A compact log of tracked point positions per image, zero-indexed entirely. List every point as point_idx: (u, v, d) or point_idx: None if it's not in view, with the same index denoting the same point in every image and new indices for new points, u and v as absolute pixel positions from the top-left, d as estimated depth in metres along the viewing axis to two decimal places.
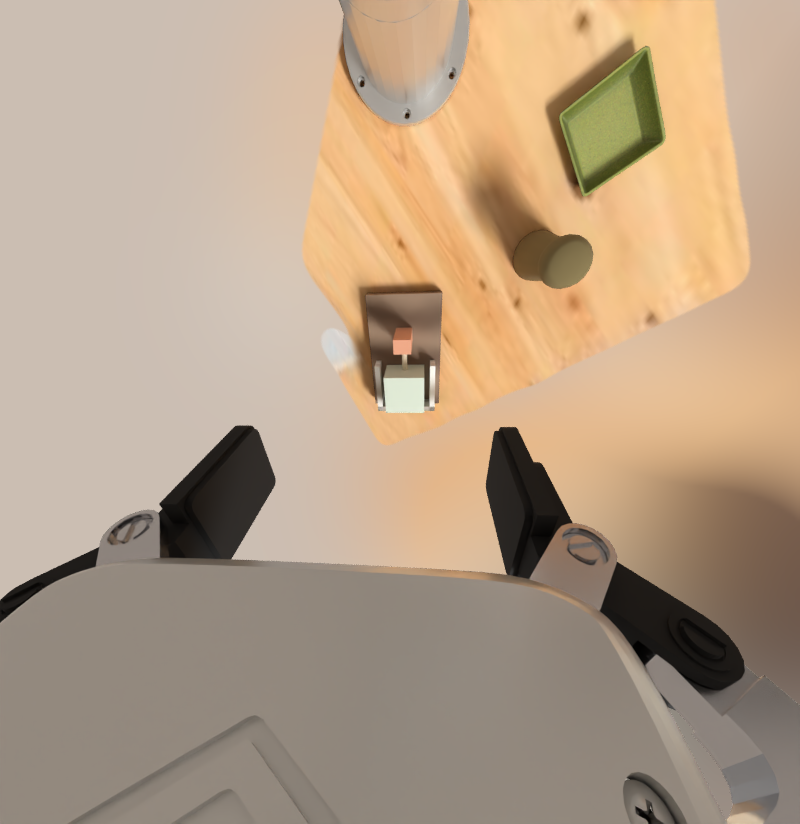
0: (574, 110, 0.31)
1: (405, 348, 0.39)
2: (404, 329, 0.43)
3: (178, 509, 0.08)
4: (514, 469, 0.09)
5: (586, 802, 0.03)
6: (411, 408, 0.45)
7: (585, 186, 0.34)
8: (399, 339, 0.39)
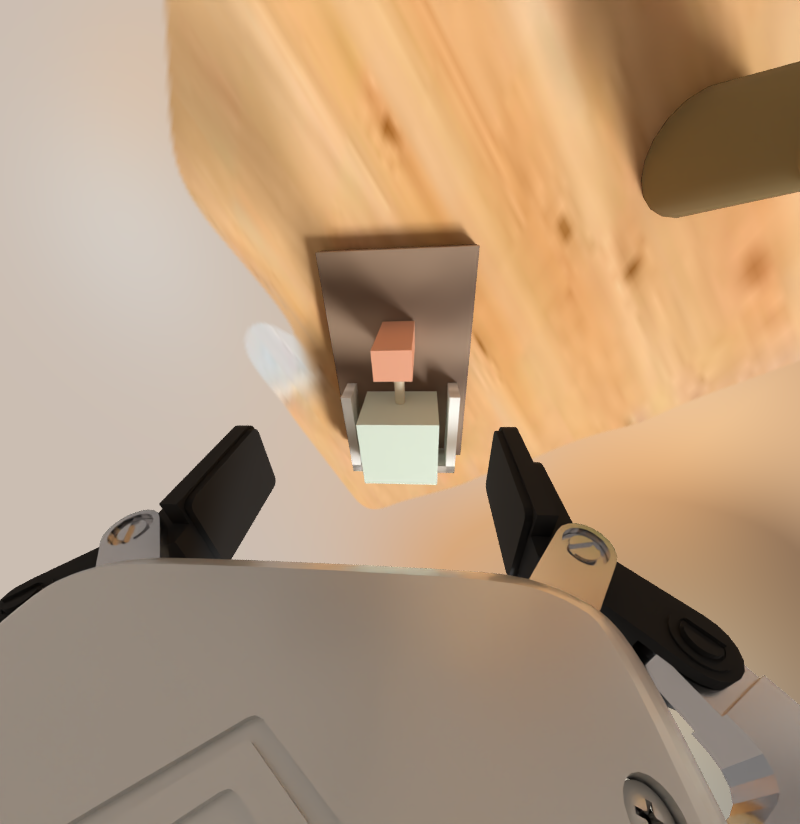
0: None
1: (400, 368, 0.17)
2: (399, 324, 0.21)
3: (178, 509, 0.08)
4: (514, 469, 0.09)
5: (586, 802, 0.03)
6: (412, 477, 0.24)
7: None
8: (384, 349, 0.17)
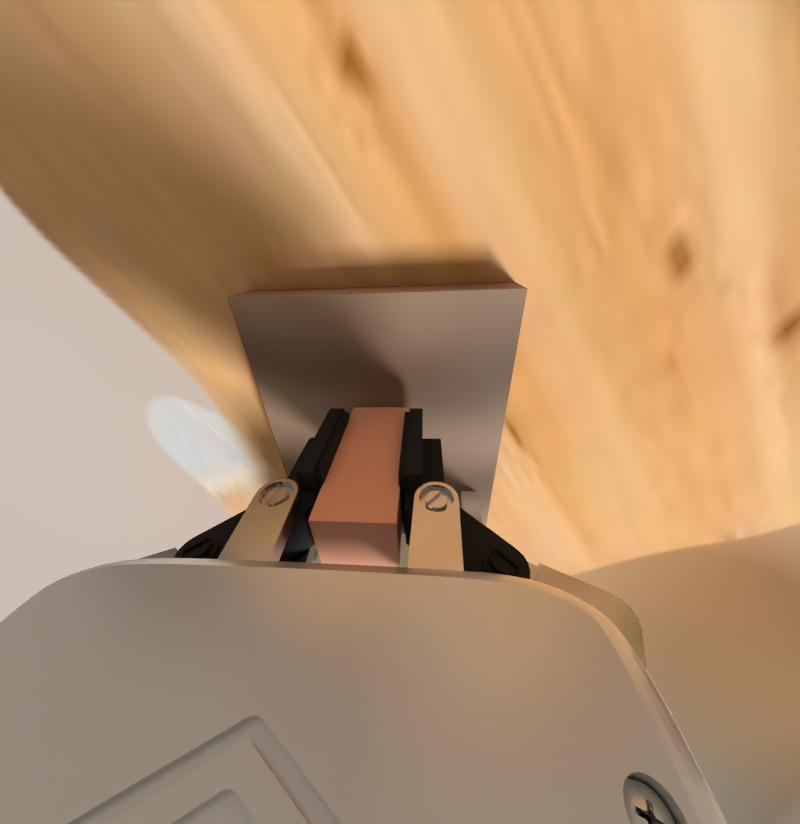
0: None
1: (373, 548, 0.08)
2: (380, 418, 0.12)
3: (312, 477, 0.09)
4: (405, 441, 0.10)
5: (586, 803, 0.03)
6: None
7: None
8: (339, 514, 0.08)
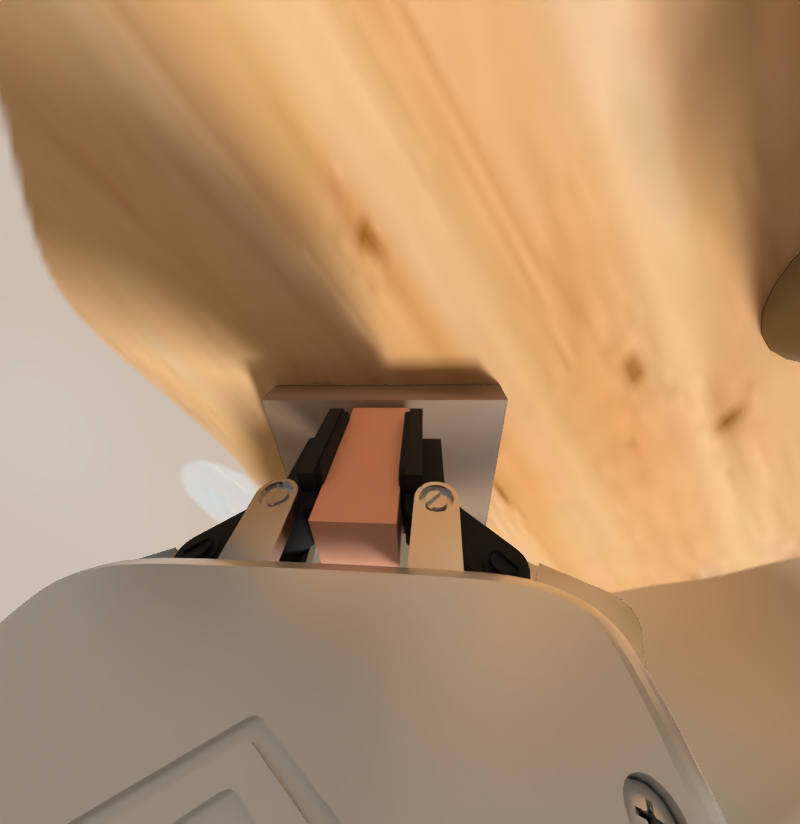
0: None
1: (373, 548, 0.08)
2: (380, 418, 0.12)
3: (312, 477, 0.09)
4: (405, 441, 0.10)
5: (586, 802, 0.03)
6: None
7: None
8: (339, 514, 0.08)
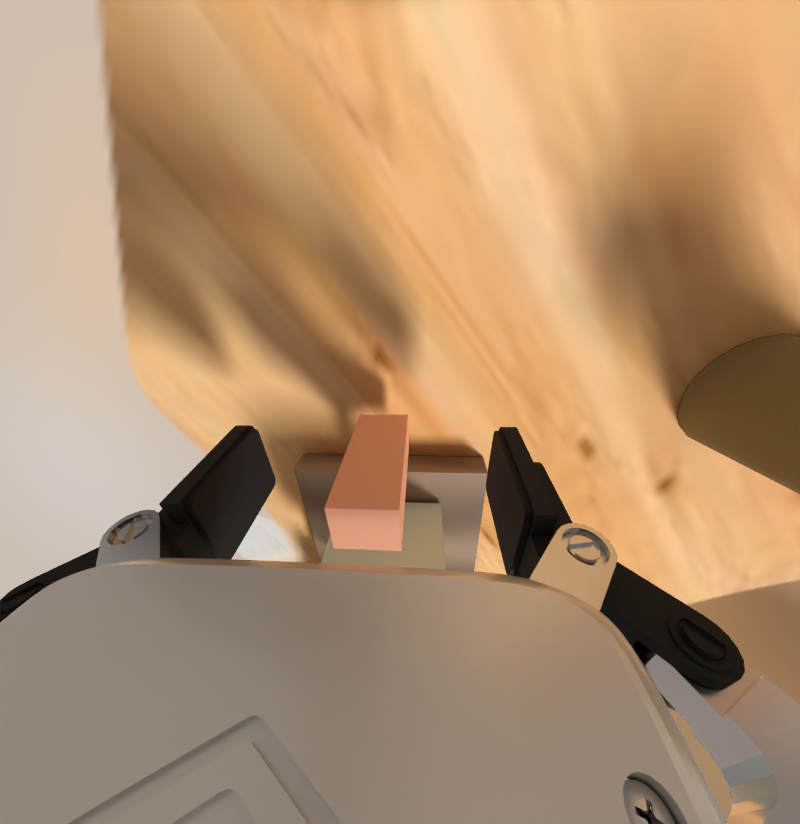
0: None
1: (379, 533, 0.10)
2: (383, 424, 0.14)
3: (178, 509, 0.08)
4: (514, 469, 0.09)
5: (586, 802, 0.03)
6: None
7: None
8: (351, 502, 0.09)
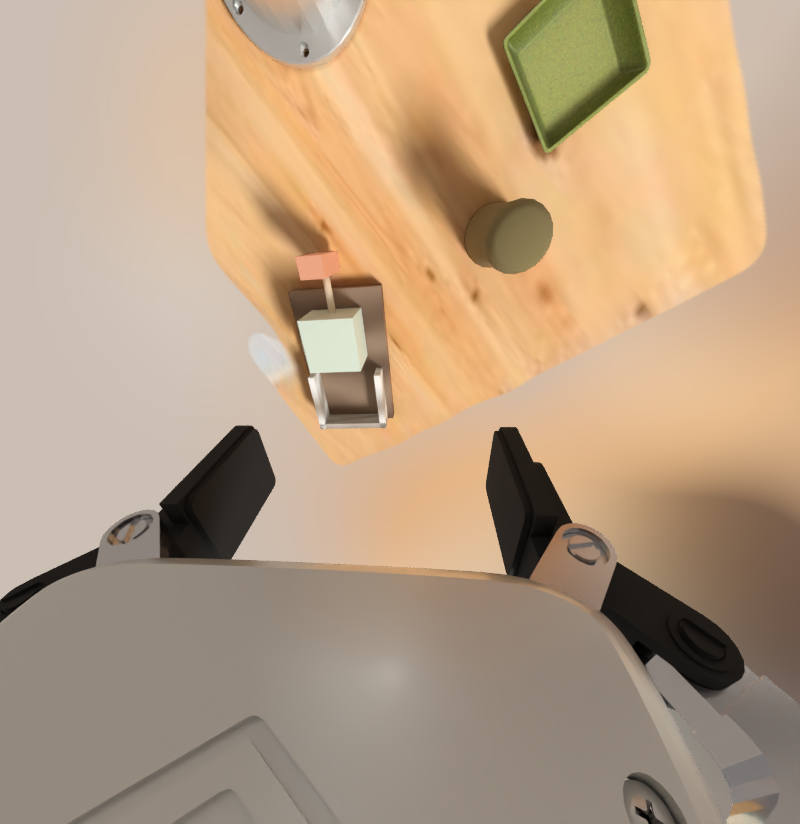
0: (524, 33, 0.23)
1: (315, 268, 0.27)
2: (324, 252, 0.31)
3: (178, 509, 0.08)
4: (514, 469, 0.09)
5: (586, 802, 0.03)
6: (342, 365, 0.33)
7: (547, 139, 0.26)
8: (304, 255, 0.27)
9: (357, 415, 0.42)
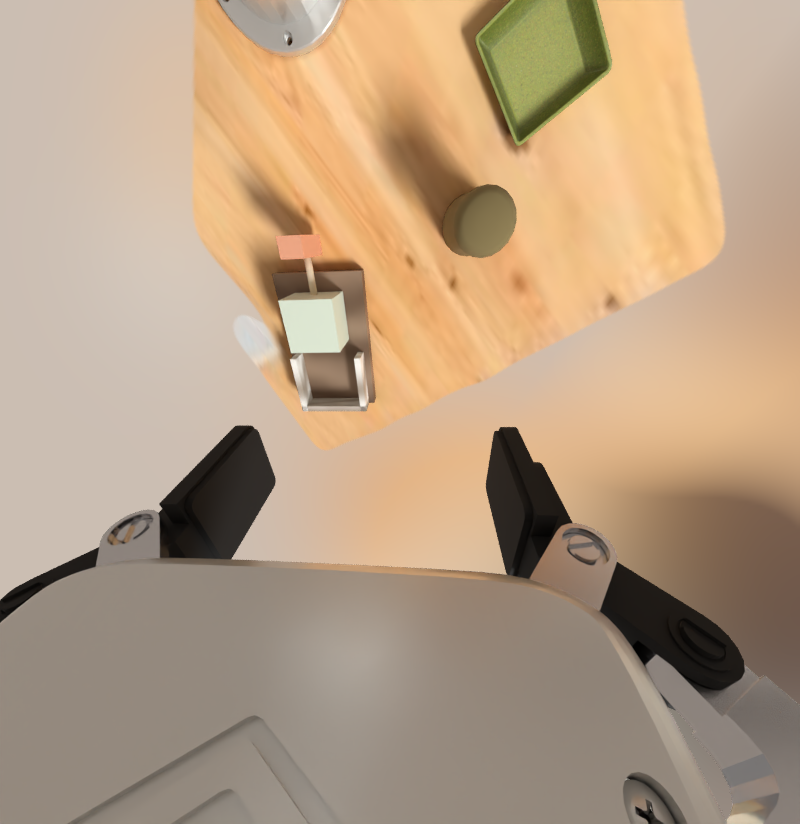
0: (495, 31, 0.24)
1: (295, 248, 0.28)
2: None
3: (178, 509, 0.08)
4: (514, 469, 0.09)
5: (586, 802, 0.03)
6: (322, 346, 0.34)
7: (519, 133, 0.28)
8: None
9: (339, 399, 0.43)
